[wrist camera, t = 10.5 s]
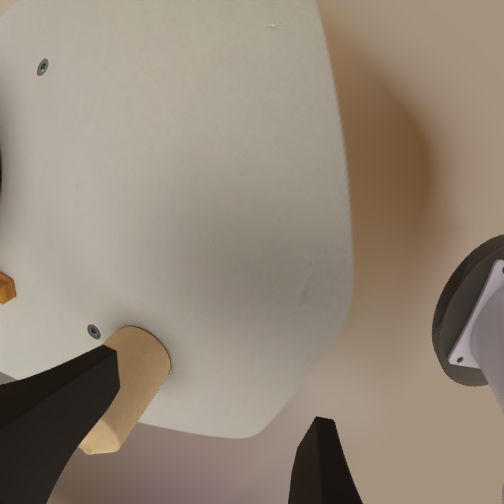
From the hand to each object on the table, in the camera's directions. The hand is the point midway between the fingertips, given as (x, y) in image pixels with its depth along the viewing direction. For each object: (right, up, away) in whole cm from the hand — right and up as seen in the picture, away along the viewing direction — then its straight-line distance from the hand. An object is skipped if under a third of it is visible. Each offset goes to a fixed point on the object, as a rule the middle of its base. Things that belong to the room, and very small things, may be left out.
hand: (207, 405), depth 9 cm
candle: (-7, -3, +14) cm, 16 cm away
